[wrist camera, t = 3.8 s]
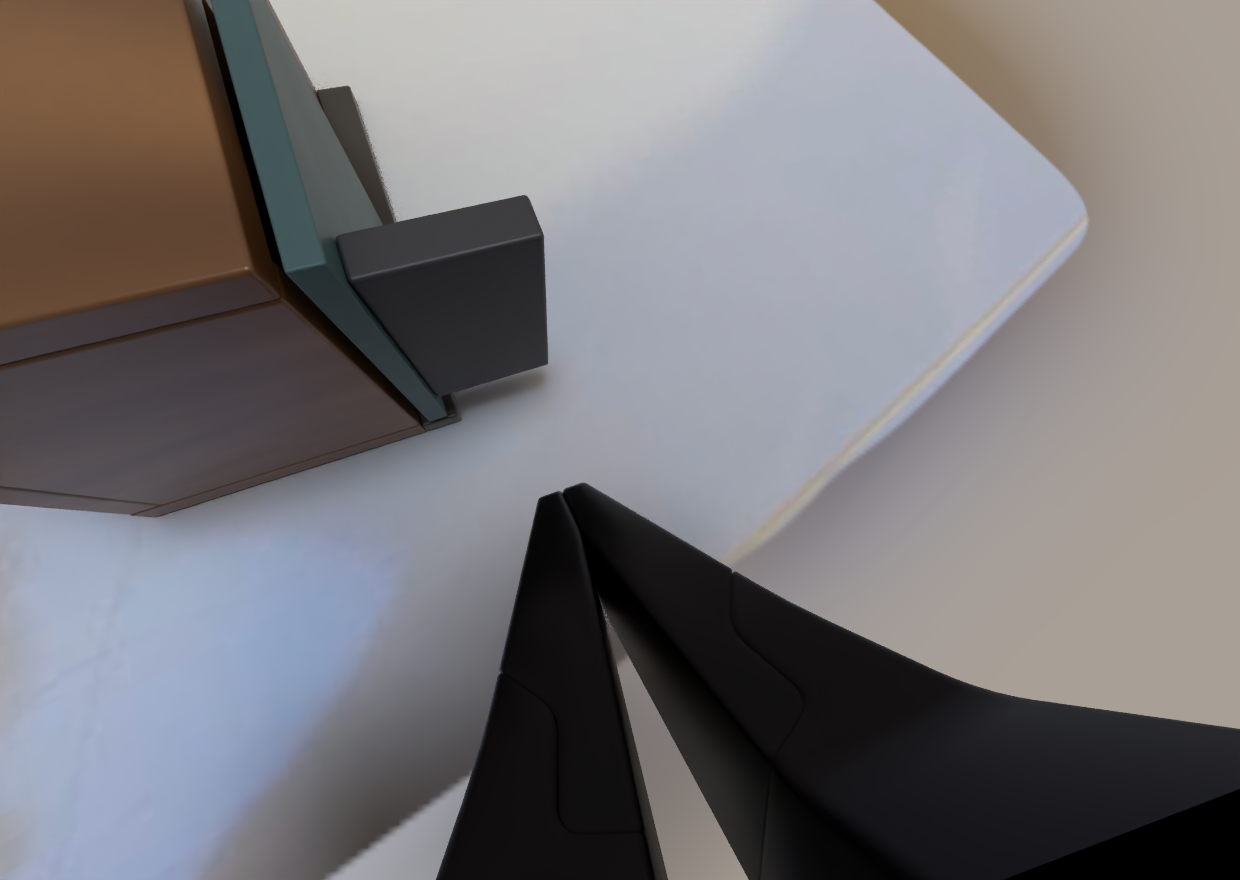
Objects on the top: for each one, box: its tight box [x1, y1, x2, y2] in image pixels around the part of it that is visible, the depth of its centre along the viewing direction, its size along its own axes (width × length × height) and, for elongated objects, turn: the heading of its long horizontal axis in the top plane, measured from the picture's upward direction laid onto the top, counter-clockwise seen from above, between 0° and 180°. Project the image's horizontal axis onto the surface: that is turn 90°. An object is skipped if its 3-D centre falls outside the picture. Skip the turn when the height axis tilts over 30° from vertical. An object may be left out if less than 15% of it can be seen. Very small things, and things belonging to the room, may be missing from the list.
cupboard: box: [0, 0, 461, 517], centre depth 11 cm, size 14×9×9 cm, turn 21°
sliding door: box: [210, 0, 548, 421], centre depth 11 cm, size 7×4×8 cm, turn 22°
